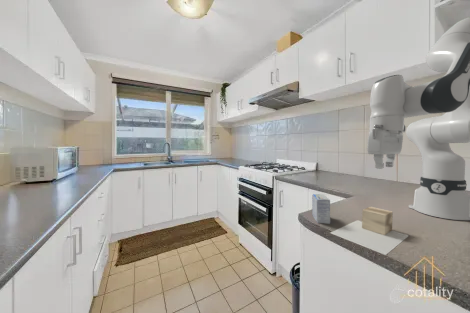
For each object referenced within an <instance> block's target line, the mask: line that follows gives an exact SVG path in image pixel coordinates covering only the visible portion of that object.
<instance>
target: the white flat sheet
mask: <svg viewBox="0 0 470 313" xmlns="http://www.w3.org/2000/svg"><path fill="white" fill-rule="evenodd" d="M330 234H332V235H334V236H336V237H338V238H342V239H344V240H346V241H349V242H351V243H354V244H357V245H360V246H362V247H364V248H366V249H369V250H372V251H374V252H376V253H379V254H381V255H384V256H387V254H389V253H390V252H392V250H394V249H395V248H396V247H397V246H398V245H400V244H401V243H402V242H403V241H404V240H406V239H407V238H408V237H409V234H405V233H401V232H398V231H395V230H392V231H390V232H389V233H387V234H386V235H383V234H379V233H376V232H373V231H370V230H367V229H364V228H362V220H359V219H357V220H355V221H353V222H350V223H348V224H346V225H343V226H341V227H339V228H337V229H335V230H333V231H331V232H330Z"/></svg>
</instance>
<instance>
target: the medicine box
mask: <svg viewBox="0 0 470 313" xmlns="http://www.w3.org/2000/svg"><path fill="white" fill-rule="evenodd" d="M311 200H312V201H311V205H312V210H311V212H312V213H311V214H312V217H313V218H314V220H315V221H316V223H317V224H327V225H329V224H331V199H329V197H327V196H326V195H325V194H317V193H316V194H314V193H313V194H312V197H311Z"/></svg>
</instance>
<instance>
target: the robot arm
mask: <svg viewBox="0 0 470 313" xmlns="http://www.w3.org/2000/svg"><path fill="white" fill-rule="evenodd" d="M425 63H426V65H427V67H428V68H429V69H431V70H432V71H435V72H438V73H445V75H443V76H441V77H439V78H436V79H434V80H431V81H427V82H425V83H422V84H419V85H415V86H412V85H409V84H407V83H406V82H405V81H404V76H403V75H402V74H393V75H389V76H387V77H383V78H381V79H378V80H376V81H375V82H374V83H373V85H372V87H371V90H370V96H369V98H370V99H369V108H370V111H371V112H370V116H369V126H368V127H369V129H368V138H367V148H366V149H367V154H368V155H373V159H374V163H375V164H374V168H375V169H377V170H378V169H379V170H380V169H381V170H382V169H384V167H387V168H392V167H394V162H395V159H396V155H397V154H401V151H402V148H403V142H404V141H403V140H404V133H405V135H406V138H407V139H408V140H409V141H410V142H412V143H413V144H414V145H415V146H416V148H417V149H418V152H419V154H420V157H421V162H422V163H421V169H422V170H421V173H422V174H421V176H420V180H419V182H420V183H419V185H420V186H419V187H418V188H416V189H415V190H414V197H413V203H412V204H408V208H409V209H411V210H415V211H416V212H419V213H421V214H425V215H427V216H430V217H431V216H432V217H434V218H435V217H437V218H441V219H446V220H454V221H470V194H468V193H467V192H466V190H467V180H465V175H466V174H465V173H466V160H465V158H464V157H463V156H461V155H459V154H457V153H455V152H454V151H453V149H452V148H451V146H450V144H465V143H470V17H469V16H468V17H466V18H463V19H461V20H459V21H457V22H456V23H455V24H453V25H452V26H451V27H450V28H449V29H447V30H446V31H445V32H444V33H443V34H442V35H441V36H440V37H439V38H438V39H437V40H436V42H435V43H434V44H433V45H432V46H431V48H430V49H429V50H428V52H427V55H426V57H425ZM432 114H435V115H436V114H442V115H437V116H433V117H431V116H430V117H425V118H421V119H418V120H415V121H413V122H411V123H410V124H408V126H407V127H406V125H405V119H407V118H413V117H420V116H425V115H432ZM384 155H386V161H385V164H384V159H383V158H384Z"/></svg>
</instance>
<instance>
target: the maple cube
mask: <svg viewBox="0 0 470 313" xmlns="http://www.w3.org/2000/svg"><path fill="white" fill-rule="evenodd" d="M393 213H394V212H393V211H391V210H387V209H383V208H378V207H374V206H369V207H366V208H363V209H362V213H361V214H362V216H361V218H362V220H361V221H362V228H364V229H367V230H370V231H373V232H376V233H379V234H383V235H386V234H387V233H389V232H390V231H393Z"/></svg>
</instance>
